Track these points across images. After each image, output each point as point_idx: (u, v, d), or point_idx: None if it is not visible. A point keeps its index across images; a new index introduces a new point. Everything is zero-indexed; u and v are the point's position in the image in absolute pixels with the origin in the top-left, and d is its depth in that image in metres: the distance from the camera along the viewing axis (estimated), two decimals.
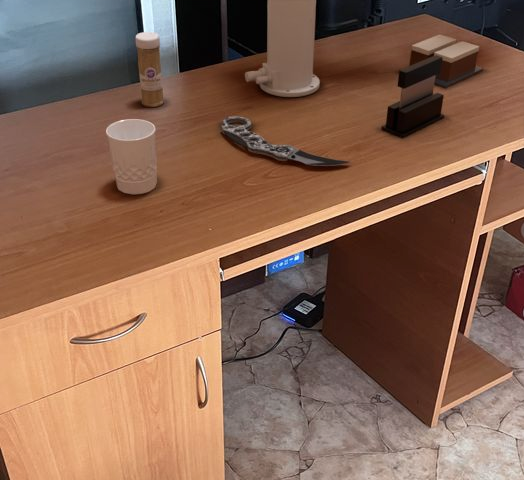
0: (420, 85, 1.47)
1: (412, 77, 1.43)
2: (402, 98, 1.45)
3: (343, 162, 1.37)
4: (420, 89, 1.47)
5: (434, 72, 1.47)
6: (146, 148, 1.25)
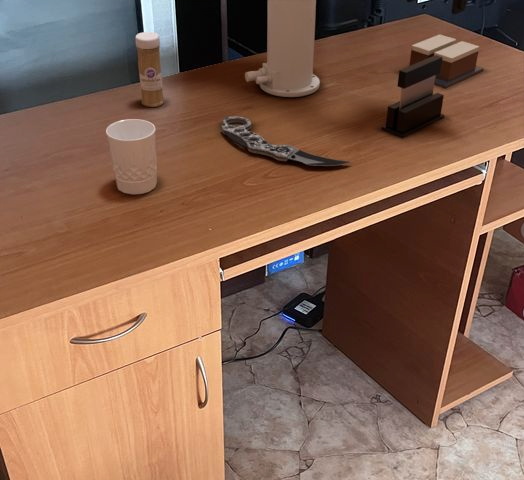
0: (420, 85, 1.47)
1: (412, 77, 1.43)
2: (402, 98, 1.45)
3: (343, 162, 1.37)
4: (420, 89, 1.47)
5: (434, 72, 1.47)
6: (146, 148, 1.25)
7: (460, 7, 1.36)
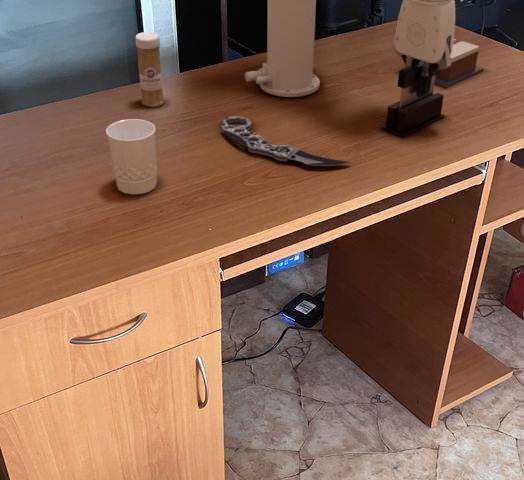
0: None
1: (412, 77, 1.43)
2: (402, 98, 1.45)
3: (343, 162, 1.37)
4: None
5: None
6: (146, 148, 1.25)
7: (424, 91, 1.45)
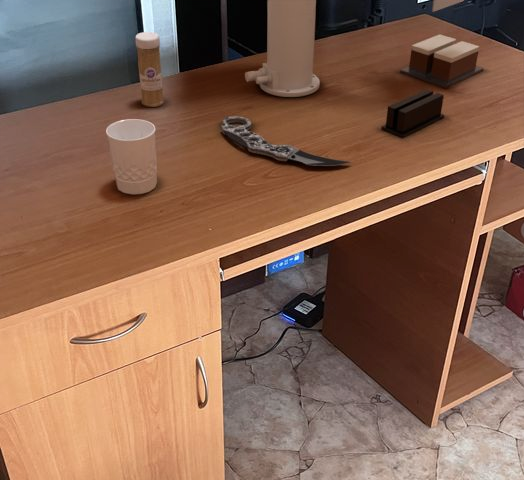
0: None
1: None
2: None
3: (343, 162, 1.37)
4: None
5: None
6: (146, 148, 1.25)
7: None
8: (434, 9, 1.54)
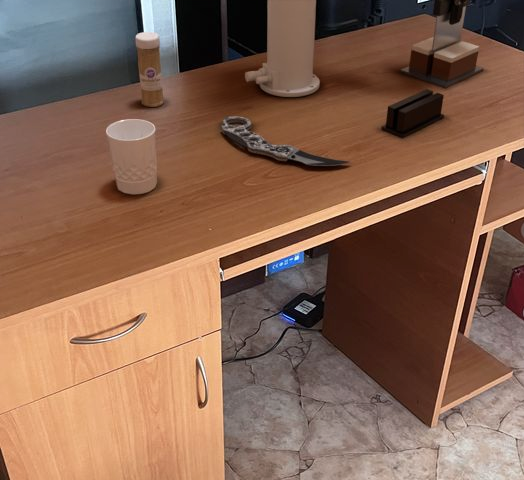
0: None
1: (446, 5, 1.60)
2: (437, 25, 1.62)
3: (343, 162, 1.37)
4: None
5: (465, 3, 1.64)
6: (146, 148, 1.25)
7: (456, 19, 1.63)
8: (433, 52, 1.66)
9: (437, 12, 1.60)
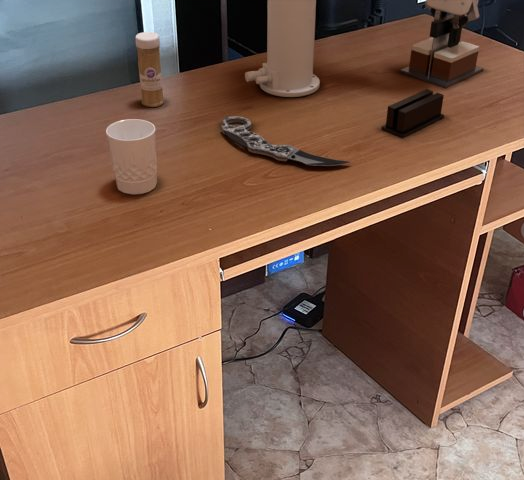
0: None
1: (442, 27, 1.63)
2: (433, 47, 1.65)
3: (343, 162, 1.37)
4: None
5: None
6: (146, 148, 1.25)
7: (454, 42, 1.65)
8: (430, 72, 1.68)
9: (434, 34, 1.63)
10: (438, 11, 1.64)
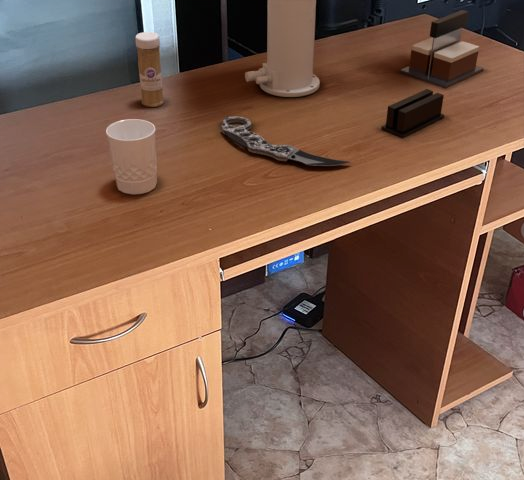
0: (449, 36, 1.67)
1: (442, 27, 1.63)
2: (433, 47, 1.65)
3: (343, 162, 1.37)
4: (449, 39, 1.67)
5: (461, 25, 1.67)
6: (146, 148, 1.25)
7: None
8: (430, 72, 1.68)
9: (434, 34, 1.63)
10: None
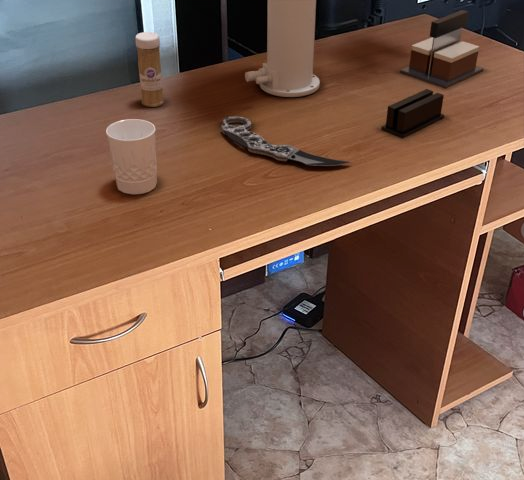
0: (449, 36, 1.67)
1: (442, 27, 1.63)
2: (433, 47, 1.65)
3: (343, 162, 1.37)
4: (449, 39, 1.67)
5: (461, 25, 1.67)
6: (146, 148, 1.25)
7: None
8: (430, 72, 1.68)
9: (434, 34, 1.63)
10: None
